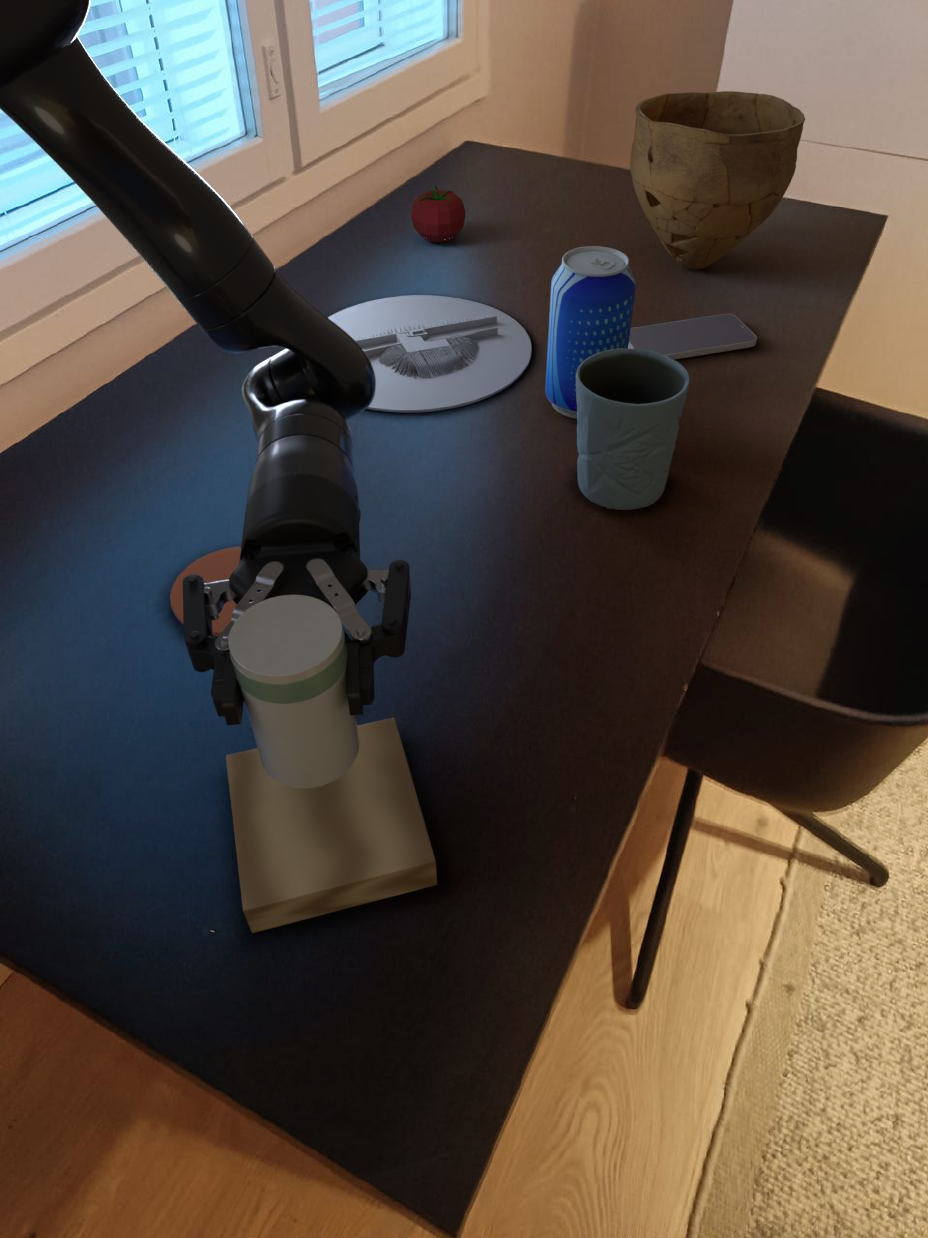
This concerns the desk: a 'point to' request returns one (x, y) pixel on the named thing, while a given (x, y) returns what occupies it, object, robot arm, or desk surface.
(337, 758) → the canister
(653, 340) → the smartphone
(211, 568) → the coaster
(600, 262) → the beer can
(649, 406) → the embossed ceramic tumbler
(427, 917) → the desk surface
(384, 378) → the plate
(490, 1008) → the desk surface
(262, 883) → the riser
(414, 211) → the tomato
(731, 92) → the bowl
